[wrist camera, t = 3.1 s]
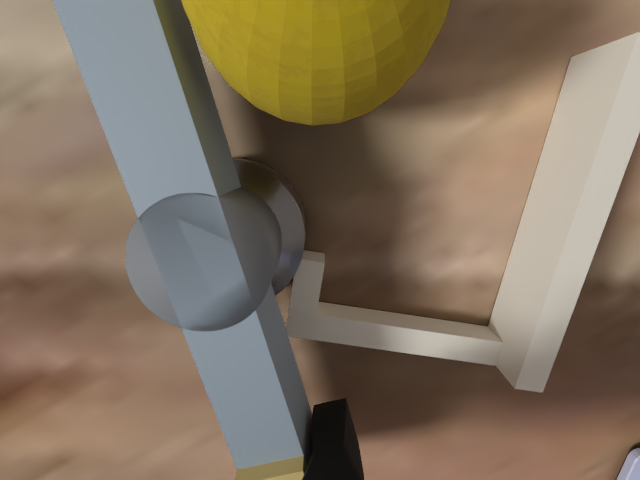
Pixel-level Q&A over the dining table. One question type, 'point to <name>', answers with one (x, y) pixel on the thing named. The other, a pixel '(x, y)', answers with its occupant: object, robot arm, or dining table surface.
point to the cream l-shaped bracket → (519, 238)
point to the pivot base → (278, 214)
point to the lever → (195, 225)
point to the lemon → (316, 51)
